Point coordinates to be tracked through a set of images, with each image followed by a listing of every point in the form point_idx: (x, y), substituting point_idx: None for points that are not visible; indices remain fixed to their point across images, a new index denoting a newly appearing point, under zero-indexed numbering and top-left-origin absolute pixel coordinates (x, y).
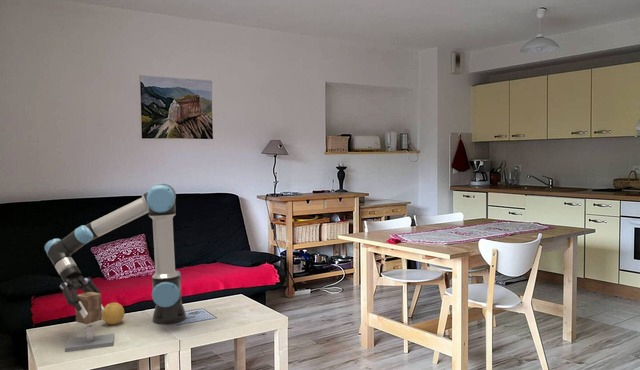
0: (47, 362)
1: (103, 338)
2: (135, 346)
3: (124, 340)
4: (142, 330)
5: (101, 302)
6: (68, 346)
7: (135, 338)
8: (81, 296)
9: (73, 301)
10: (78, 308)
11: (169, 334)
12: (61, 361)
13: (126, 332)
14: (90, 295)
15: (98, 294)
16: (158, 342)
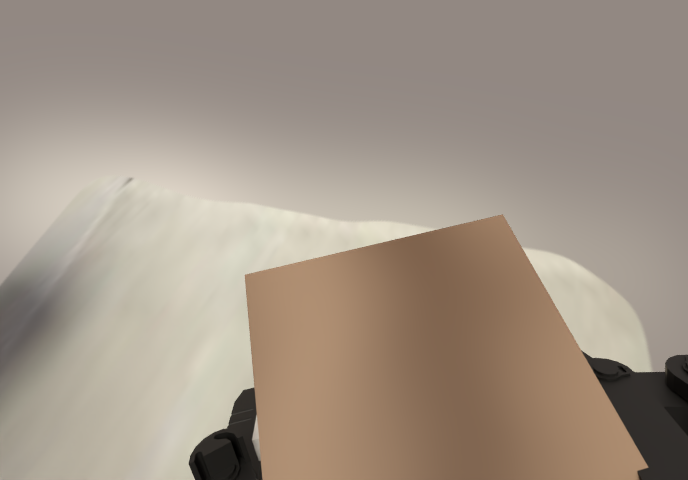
0: (613, 312)
1: None
2: (262, 227)
3: (242, 332)
4: (82, 419)
5: (240, 397)
6: None
7: (196, 319)
8: (560, 315)
9: (658, 386)
10: None
11: (89, 256)
12: (553, 279)
13: (146, 465)
14: (413, 273)
15: (290, 265)
16: (185, 207)
